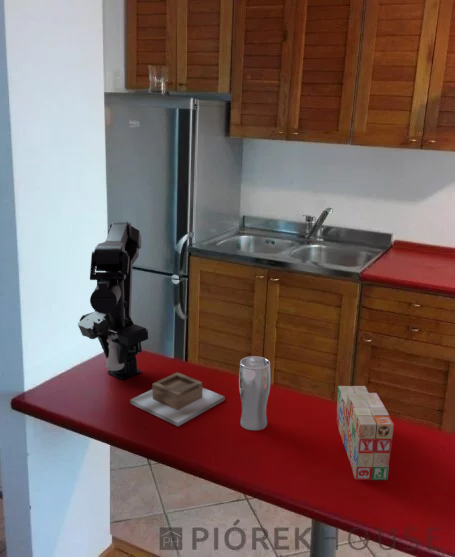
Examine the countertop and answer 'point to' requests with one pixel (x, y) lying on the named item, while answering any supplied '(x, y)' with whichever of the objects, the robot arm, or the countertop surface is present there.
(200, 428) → the countertop surface
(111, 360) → the rook chess piece
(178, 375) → the board
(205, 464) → the countertop surface
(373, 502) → the countertop surface
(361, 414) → the stack of blocks
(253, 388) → the beer glass
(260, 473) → the countertop surface
